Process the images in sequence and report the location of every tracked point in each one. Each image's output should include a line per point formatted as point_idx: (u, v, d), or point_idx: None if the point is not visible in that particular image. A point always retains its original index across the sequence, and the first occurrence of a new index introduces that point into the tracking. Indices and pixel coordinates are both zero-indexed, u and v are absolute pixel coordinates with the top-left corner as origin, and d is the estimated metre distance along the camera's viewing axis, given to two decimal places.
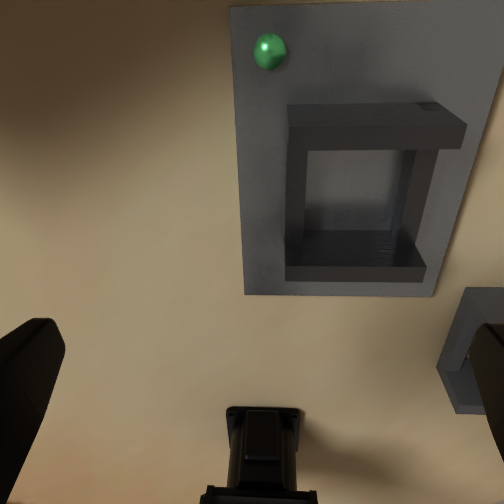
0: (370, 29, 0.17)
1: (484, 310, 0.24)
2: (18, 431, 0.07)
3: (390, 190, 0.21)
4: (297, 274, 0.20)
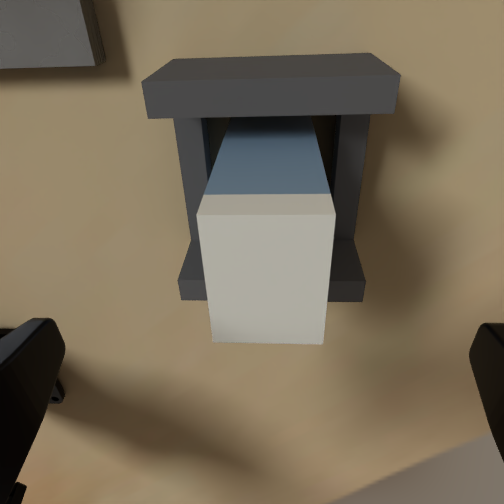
0: None
1: (166, 70, 0.12)
2: (18, 431, 0.07)
3: None
4: None
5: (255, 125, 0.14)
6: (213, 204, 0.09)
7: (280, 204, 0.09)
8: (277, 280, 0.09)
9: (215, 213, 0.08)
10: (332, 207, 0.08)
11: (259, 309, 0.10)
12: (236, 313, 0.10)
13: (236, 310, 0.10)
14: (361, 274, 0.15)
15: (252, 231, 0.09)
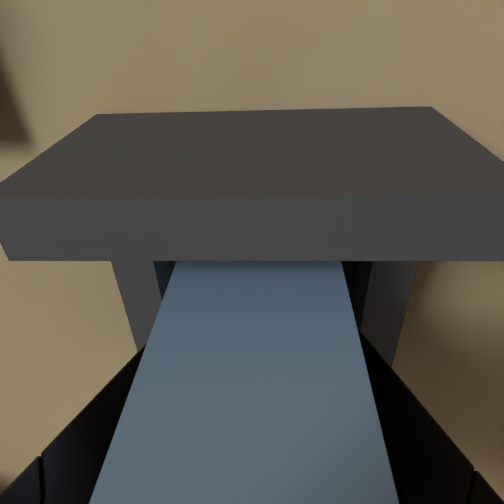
0: None
1: (63, 150, 0.07)
2: None
3: None
4: None
5: None
6: None
7: None
8: None
9: None
10: None
11: None
12: None
13: None
14: None
15: None
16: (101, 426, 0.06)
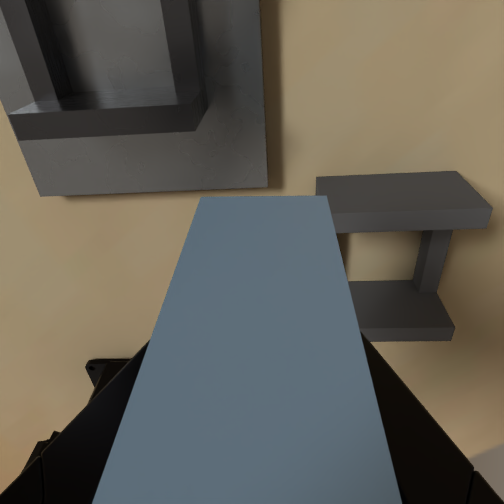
0: None
1: (326, 195, 0.18)
2: None
3: None
4: (29, 127, 0.15)
5: (236, 229, 0.08)
6: None
7: None
8: None
9: None
10: None
11: None
12: None
13: None
14: (450, 321, 0.21)
15: None
16: (101, 426, 0.05)
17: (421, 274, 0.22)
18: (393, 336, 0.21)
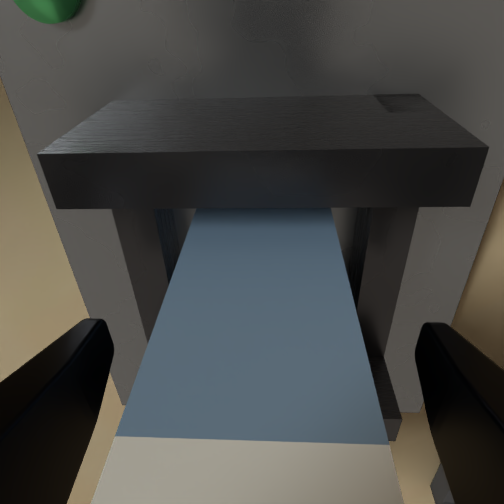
0: None
1: None
2: (77, 433, 0.07)
3: None
4: None
5: None
6: (127, 485, 0.04)
7: (279, 492, 0.04)
8: None
9: None
10: None
11: None
12: None
13: None
14: None
15: None
16: None
17: None
18: None
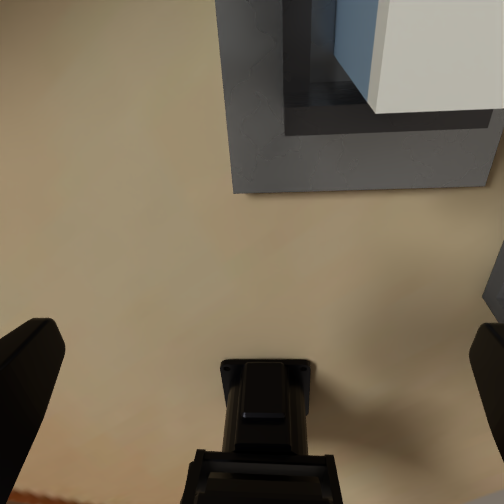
0: None
1: None
2: (18, 431, 0.07)
3: None
4: (302, 122, 0.14)
5: None
6: None
7: None
8: None
9: None
10: None
11: (446, 50, 0.08)
12: (417, 58, 0.08)
13: (417, 54, 0.08)
14: None
15: None
16: None
17: None
18: None
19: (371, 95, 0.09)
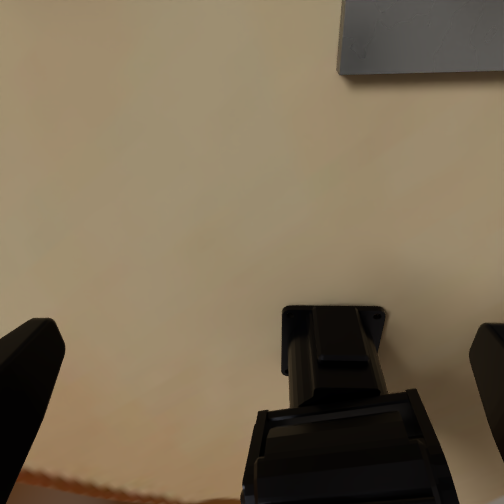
0: None
1: None
2: (18, 431, 0.07)
3: None
4: None
5: None
6: None
7: None
8: None
9: None
10: None
11: None
12: None
13: None
14: None
15: None
16: None
17: None
18: None
19: None
